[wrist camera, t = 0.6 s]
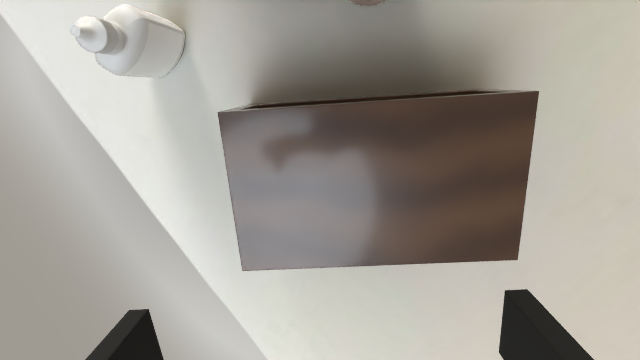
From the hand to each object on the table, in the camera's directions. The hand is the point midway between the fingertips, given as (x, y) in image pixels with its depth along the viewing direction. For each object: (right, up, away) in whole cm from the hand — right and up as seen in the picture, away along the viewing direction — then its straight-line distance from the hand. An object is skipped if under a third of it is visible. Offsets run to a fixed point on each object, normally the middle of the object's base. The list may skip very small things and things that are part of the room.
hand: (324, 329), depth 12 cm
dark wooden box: (+5, +8, +23) cm, 25 cm away
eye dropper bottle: (-16, +19, +21) cm, 33 cm away
